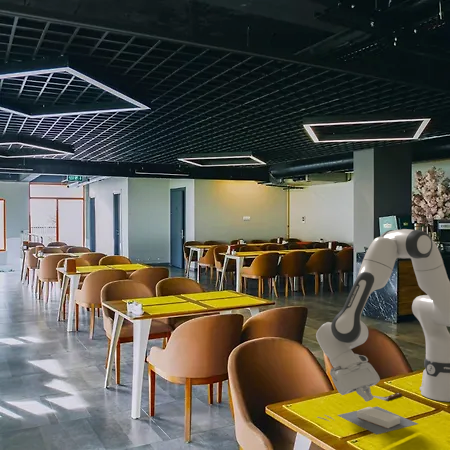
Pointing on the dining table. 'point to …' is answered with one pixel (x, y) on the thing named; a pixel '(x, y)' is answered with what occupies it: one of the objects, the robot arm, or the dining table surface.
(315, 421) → the dining table surface
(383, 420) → the tile
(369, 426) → the mat
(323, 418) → the tweezers
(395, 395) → the kitchen cleaver
